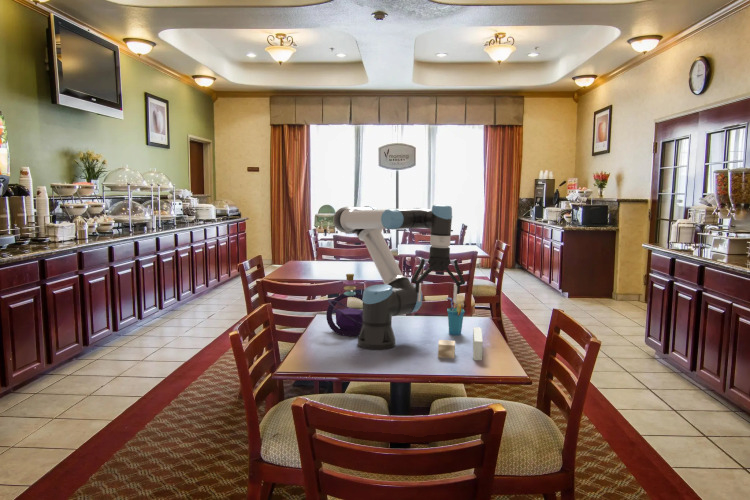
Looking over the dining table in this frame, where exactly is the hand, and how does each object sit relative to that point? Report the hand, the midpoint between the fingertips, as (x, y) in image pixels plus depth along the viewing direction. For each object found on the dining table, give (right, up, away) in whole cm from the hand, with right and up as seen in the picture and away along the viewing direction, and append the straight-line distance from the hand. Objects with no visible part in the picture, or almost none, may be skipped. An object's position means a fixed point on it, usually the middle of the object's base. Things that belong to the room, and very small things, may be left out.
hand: (436, 301), depth 193 cm
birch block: (+3, -20, -2) cm, 20 cm away
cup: (+11, -17, +28) cm, 34 cm away
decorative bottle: (-35, -16, +29) cm, 48 cm away
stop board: (+16, -20, +3) cm, 25 cm away
